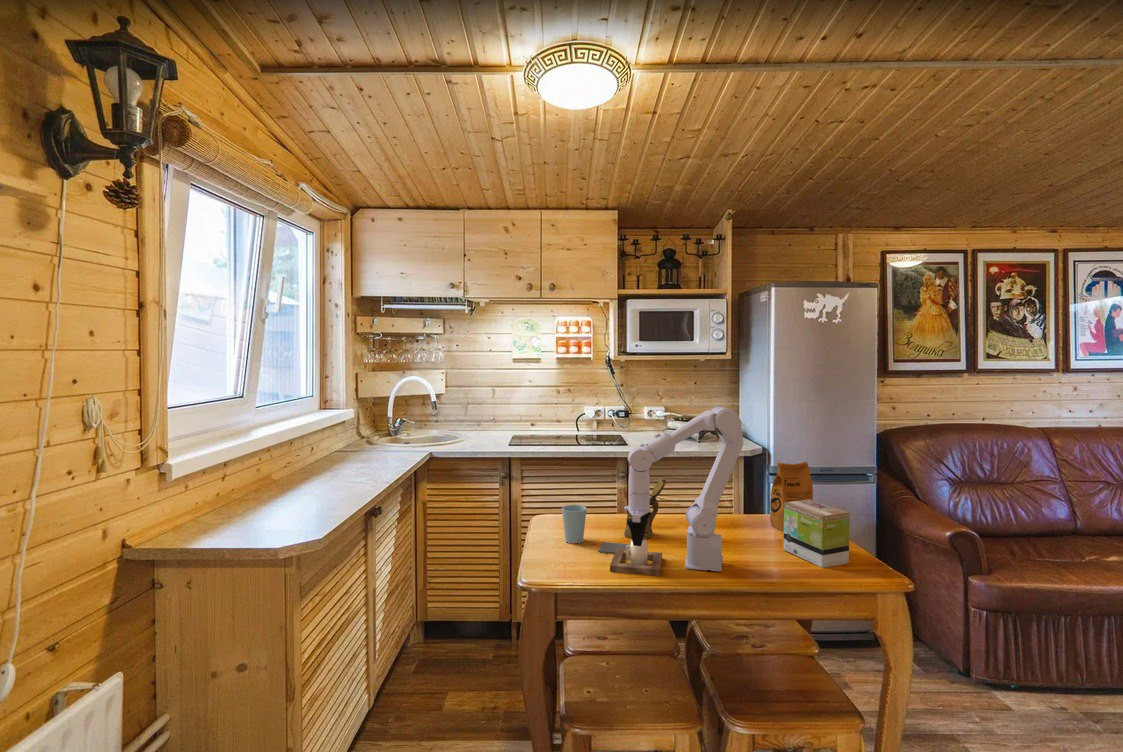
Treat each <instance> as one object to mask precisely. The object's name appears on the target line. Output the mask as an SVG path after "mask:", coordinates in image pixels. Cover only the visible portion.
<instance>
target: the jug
mask: <svg viewBox="0 0 1123 752" xmlns="http://www.w3.org/2000/svg"><path fill="white" fill-rule="evenodd" d="M629 550H631V555H629ZM648 550H649V549H648V540H646V539H643V541H642V545H641V546H634V545H633V541H632V539H631V540H630V544H629V545H626V558H625V559H627V560H630V564H634V565H645V566H648V560H647V558H648V552H649V551H648Z"/></svg>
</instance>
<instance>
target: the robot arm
mask: <svg viewBox="0 0 1123 752" xmlns="http://www.w3.org/2000/svg"><path fill="white" fill-rule="evenodd" d="M742 426H743V422H742V420H741V418H740V416H739V415H738V413H737V412H736V411H735V410H733V409H731V408H726V407H725V406H722V405H716V406H713V407H711V408H710V410H709V409H708V410H705V411H703V412H701V413H700V414H698V415H696V416H695V417H693V418H692V419H690V420H689V421H687V422H685V423H684V424H683V425H681V426H680V427H678V428H677V429H675V430H674V431H672V432H670V433H667V432H662V433H659V432H657V433H655V434H654V437H653V438H651V439H650V440H648V441H646V442H645V443H644V442H641V443H640V444H639V445H640V447H638V446H637V447H634V448H632V449H631V450H630V451H629V453H628V455H627V462H628V464H629V469H628V472H629V473H628V474H629V475H628V504H629V506H628V505H625V506H624V508H623V509H624V511H627V512H628V511H629V512H630V513H631V515H632V517H633V519H629V518H627V517H626V522H627V524H628V526H629V529H630V531H631V536H632V539H631V540H632V541H633V545H634V546H641V545H642V541H643V540H644V539H643V537H644V534H645V529H646V525H647V523H648V521H647V520H648V517H649V515H650V513H651V512H652V511H651V507H650V506H651V505H650V497H651V496H650V495H651V494H650V492H651V489H650V487H651V485H650V483H651V479H650V477H651V476H650V468H651V466H652V464H653V463H656V462H657V461H659V460H661V459H662V458H664V457H666V456H668V455H669V454H671V453H673V452H674V451H675V449H676V446H677V444H679V443H681V442H682V441H685V440H686V439H689V438H690V437H693V436H694V435H696V434H697V433H699V432H701V431H711V432H712V431H713V432H714V431H715V432H716V433H717V435H718V437H719V439H720V441H721V443H722V444H721V445H720V448H719V451H718V453H717V455H716V457H715V460H714V463H713V465H712V466H711V469H710V471H709V474H708V476H707V478H706V481H705V484H704V485H703V488H702V489H701V492H700V494H699V496H697V497H696V498H695V500H694V502H693V504H691V506H689V507H688V509H687V510H686V512H685V520H686V521H687V523H688V524H689V526H688V528H687V529H686V556H685V557H684V558H685V561H684V562H685V564H684V569H686V570H696V571H707V570H711V571H710V572H719V571H721V572H723V571H722V566H723V565H722V563H723V561H724V560H723V558H724V556H723V550H722V549H723V548H722V547H723V545H722V543H723V541H722V539H723V537H722V534H719V533H715V531H716V527H717V523H716V522H717V517H718V515H719V514H718V513H719V502H720V500H721V498H722V496H723V493H724V491H725V488H726V486H727V484H728V482H729V479H730V477H731V475H732V472H733V470H734V468H735V465H736V463H737V461H738V458H739V456H740V454H741V452H742V449H743V446H744V436H743V432H742V431H743V430H742Z"/></svg>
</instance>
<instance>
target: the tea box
mask: <svg viewBox="0 0 1123 752" xmlns="http://www.w3.org/2000/svg"><path fill="white" fill-rule="evenodd" d="M850 517H851V516H850V511H846V510H843V509H840V508H837V507H833V506H831V505H828V504H825V503H821V502H819V501H815V500H814V499H813V500H810V499H807V500H800V501H793V502H786V503H785V502H784V531H783V551H785V552H788V553H791V554H793V555H795V556H797V557H798V558H801V559H803V560H805V561H807V562H809V563H811V564H812V565H815V566H818V567H820V568H822V569H823V568H824V569H825V568H829V567H835V566H842V565H846V564H849V562H850V559H849V558H850Z"/></svg>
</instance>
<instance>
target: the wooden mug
mask: <svg viewBox="0 0 1123 752" xmlns="http://www.w3.org/2000/svg"><path fill="white" fill-rule="evenodd" d="M665 485H666V478H663V479H662V480H660V481H659V482H658V481H657V483H656V484H655V486H654V487H653V489H652V490H651V494H650V495H651V496H650V506H651V507H652V511H651V513H650V515H649V517H648V520H647V521H648V523H647V525H646V529H645V534H644V537H643V540H646V539H645V538H648V539H650V538H652V537H653V533H654V532H653V528H652V526H653V522H654V519H655V517H656V516H657V514H658V511H659V501H658V499H657V497H658V496H659V495H660V494H661V492H662V491H663V490H664V488H665ZM627 506H629V503H628V504H627ZM627 518H629V519H633V517H632V515H631V513H630V512H629V511H628V510H627V516H626V519H627ZM623 535H624V536H625V537H626V536H627V537H626V538H628V537H629V539H631V538H632V536H631V531H630V529H629V526H628V524H627V521H626V524H625V529H624V533H623ZM649 537H650V538H649Z"/></svg>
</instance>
